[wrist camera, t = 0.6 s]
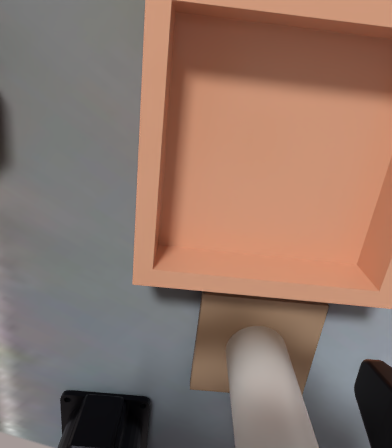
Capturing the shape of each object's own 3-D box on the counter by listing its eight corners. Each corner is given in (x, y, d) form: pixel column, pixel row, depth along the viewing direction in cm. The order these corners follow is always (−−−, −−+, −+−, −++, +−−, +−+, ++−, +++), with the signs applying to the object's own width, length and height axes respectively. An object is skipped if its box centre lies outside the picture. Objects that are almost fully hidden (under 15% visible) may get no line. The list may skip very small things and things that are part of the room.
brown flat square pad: (298, 389, 26) (301, 398, 25) (190, 380, 26) (189, 389, 25) (324, 298, 23) (329, 306, 22) (202, 287, 23) (203, 294, 22)
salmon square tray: (363, 275, 22) (391, 308, 19) (142, 253, 22) (132, 284, 19) (448, 23, 17) (507, 11, 14) (156, -13, 16) (147, -35, 13)
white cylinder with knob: (279, 375, 25) (318, 517, 17) (221, 370, 24) (233, 512, 16) (291, 328, 23) (340, 461, 15) (230, 323, 23) (247, 454, 15)
